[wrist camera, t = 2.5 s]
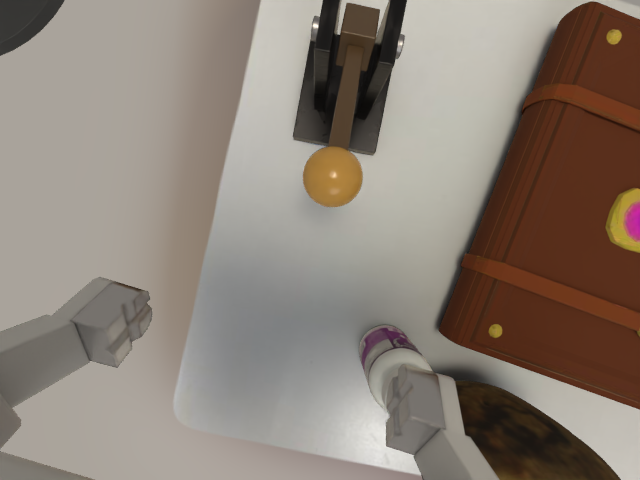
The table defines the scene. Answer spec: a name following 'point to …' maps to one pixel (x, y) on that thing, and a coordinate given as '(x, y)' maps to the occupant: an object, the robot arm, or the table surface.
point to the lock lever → (343, 114)
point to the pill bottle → (387, 358)
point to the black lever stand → (327, 76)
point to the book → (566, 220)
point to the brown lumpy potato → (524, 438)
